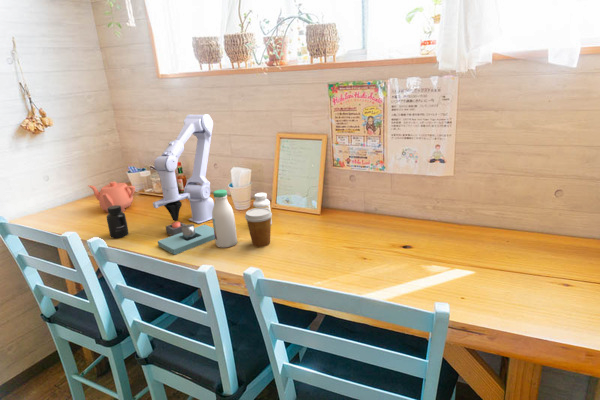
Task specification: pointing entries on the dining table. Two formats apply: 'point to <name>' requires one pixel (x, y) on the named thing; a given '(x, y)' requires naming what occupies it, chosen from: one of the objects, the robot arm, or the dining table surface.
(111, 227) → the supplement bottle
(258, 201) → the supplement bottle
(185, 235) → the cylinder
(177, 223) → the button
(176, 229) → the button housing
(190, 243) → the plate
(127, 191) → the teapot
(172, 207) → the robot arm
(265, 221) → the disposable coffee cup
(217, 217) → the milk bottle
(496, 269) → the dining table surface
